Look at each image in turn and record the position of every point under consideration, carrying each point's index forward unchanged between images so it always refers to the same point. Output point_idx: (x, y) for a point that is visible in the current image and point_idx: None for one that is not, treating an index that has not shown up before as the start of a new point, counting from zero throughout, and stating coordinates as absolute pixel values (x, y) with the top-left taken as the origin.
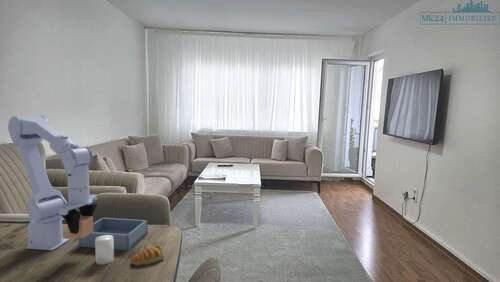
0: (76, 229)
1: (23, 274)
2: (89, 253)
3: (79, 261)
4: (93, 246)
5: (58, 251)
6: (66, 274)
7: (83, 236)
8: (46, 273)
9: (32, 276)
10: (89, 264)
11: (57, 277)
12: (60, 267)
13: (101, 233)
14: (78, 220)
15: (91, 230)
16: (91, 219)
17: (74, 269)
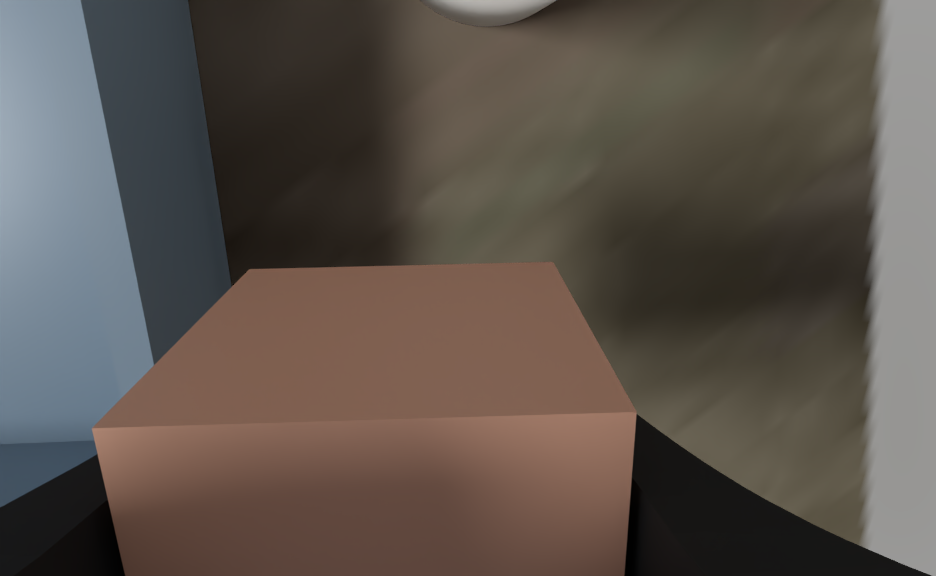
0: (649, 427)
1: (820, 518)
2: (367, 226)
3: (555, 211)
4: (224, 278)
5: None
6: (821, 157)
7: (539, 270)
8: (803, 355)
9: (853, 429)
10: (605, 50)
11: (876, 204)
12: (691, 312)
13: (113, 205)
14: (729, 530)
15: (296, 282)
16: (201, 389)
17: (722, 145)
